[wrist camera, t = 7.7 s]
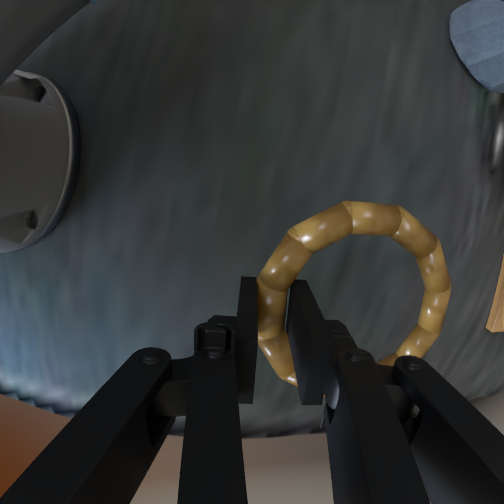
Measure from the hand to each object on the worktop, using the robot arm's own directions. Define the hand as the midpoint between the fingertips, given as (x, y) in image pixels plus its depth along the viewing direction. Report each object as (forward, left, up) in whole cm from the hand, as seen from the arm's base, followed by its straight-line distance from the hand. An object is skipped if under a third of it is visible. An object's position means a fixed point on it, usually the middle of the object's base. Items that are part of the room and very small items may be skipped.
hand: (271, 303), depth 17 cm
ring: (+5, 0, 0) cm, 5 cm away
